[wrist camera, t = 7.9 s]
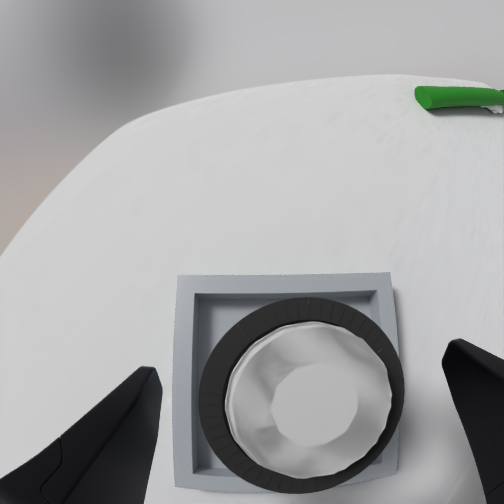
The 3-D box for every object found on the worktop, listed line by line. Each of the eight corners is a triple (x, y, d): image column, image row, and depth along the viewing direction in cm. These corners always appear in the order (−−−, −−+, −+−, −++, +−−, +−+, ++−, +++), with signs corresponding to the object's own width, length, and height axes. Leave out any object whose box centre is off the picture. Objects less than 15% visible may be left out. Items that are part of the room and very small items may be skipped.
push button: (363, 383, 14) (482, 384, 5) (306, 458, 13) (366, 549, 4) (270, 318, 16) (289, 242, 7) (210, 391, 14) (142, 419, 5)
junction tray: (384, 465, 12) (396, 473, 11) (182, 476, 13) (175, 486, 11) (378, 281, 17) (390, 272, 15) (185, 284, 17) (178, 275, 16)
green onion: (427, 122, 25) (529, 115, 26) (437, 100, 22) (537, 103, 23) (402, 94, 27) (512, 95, 28) (409, 73, 24) (519, 83, 25)
